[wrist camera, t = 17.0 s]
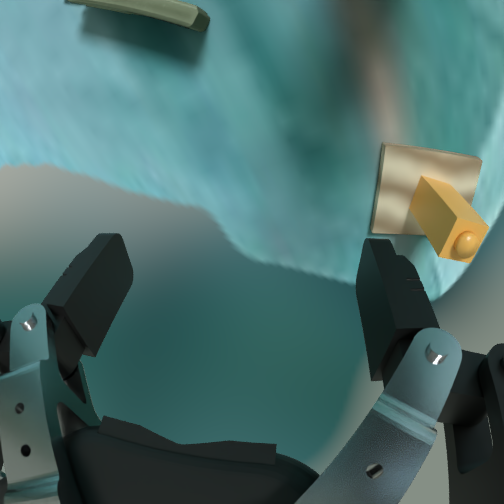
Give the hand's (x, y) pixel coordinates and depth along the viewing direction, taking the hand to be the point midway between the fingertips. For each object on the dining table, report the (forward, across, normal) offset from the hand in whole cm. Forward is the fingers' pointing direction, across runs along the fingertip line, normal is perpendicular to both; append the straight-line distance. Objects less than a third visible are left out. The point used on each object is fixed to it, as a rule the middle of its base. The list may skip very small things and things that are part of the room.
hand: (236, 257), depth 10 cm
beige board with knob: (+33, -24, +12) cm, 42 cm away
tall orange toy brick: (+32, -24, +12) cm, 41 cm away
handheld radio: (+34, +19, -17) cm, 42 cm away
